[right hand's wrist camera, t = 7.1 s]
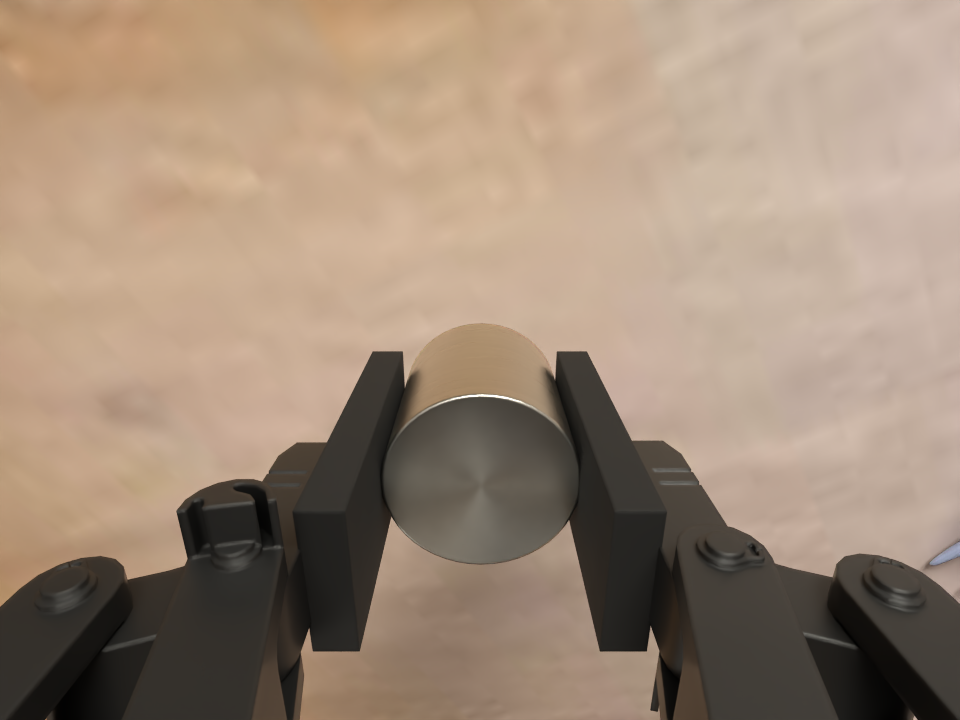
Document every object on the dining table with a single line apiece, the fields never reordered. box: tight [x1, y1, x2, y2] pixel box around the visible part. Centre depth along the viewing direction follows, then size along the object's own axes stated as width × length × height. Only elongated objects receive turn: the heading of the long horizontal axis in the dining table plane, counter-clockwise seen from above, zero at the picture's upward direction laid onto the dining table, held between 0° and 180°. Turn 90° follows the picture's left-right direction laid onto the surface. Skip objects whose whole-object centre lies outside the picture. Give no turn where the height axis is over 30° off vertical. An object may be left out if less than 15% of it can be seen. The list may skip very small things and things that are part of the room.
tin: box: [381, 324, 580, 564], centre depth 13 cm, size 4×4×4 cm
